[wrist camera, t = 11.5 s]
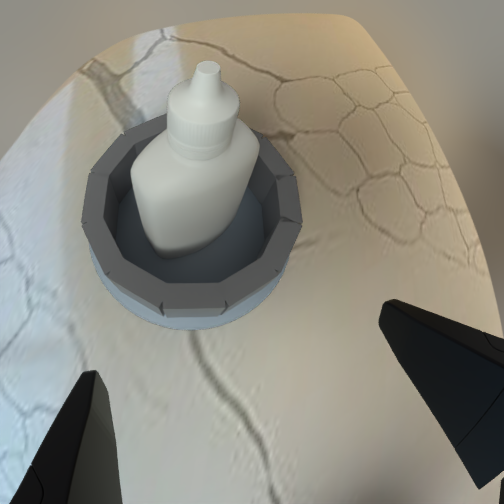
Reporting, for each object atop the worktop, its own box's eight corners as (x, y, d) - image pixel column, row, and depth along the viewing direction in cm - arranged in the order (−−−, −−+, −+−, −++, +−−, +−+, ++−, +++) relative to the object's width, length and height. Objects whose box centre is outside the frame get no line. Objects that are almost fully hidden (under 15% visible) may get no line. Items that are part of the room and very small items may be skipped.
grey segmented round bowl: (153, 371, 17) (145, 376, 13) (64, 195, 19) (45, 162, 15) (325, 260, 21) (354, 239, 17) (223, 120, 23) (231, 83, 19)
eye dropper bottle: (145, 196, 19) (124, 34, 8) (232, 192, 21) (284, 38, 9) (146, 262, 18) (102, 124, 7) (240, 256, 19) (315, 124, 8)
